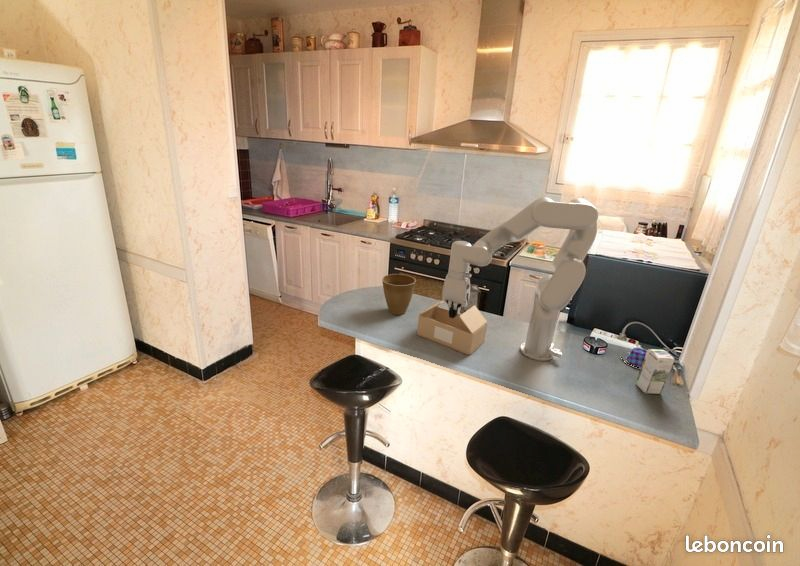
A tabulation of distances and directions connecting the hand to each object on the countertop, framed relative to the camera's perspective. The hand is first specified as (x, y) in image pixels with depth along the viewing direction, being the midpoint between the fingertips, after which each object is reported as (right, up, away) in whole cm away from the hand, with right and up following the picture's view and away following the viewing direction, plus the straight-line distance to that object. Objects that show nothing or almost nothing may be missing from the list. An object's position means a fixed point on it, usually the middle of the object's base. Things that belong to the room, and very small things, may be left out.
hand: (452, 316), depth 155 cm
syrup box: (+64, -23, -21) cm, 72 cm away
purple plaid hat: (+71, -18, -4) cm, 73 cm away
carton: (0, -9, +4) cm, 10 cm away
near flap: (+7, -1, -5) cm, 9 cm away
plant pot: (-22, 0, +24) cm, 33 cm away
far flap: (-7, +4, +4) cm, 9 cm away
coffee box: (+9, -4, +20) cm, 22 cm away
